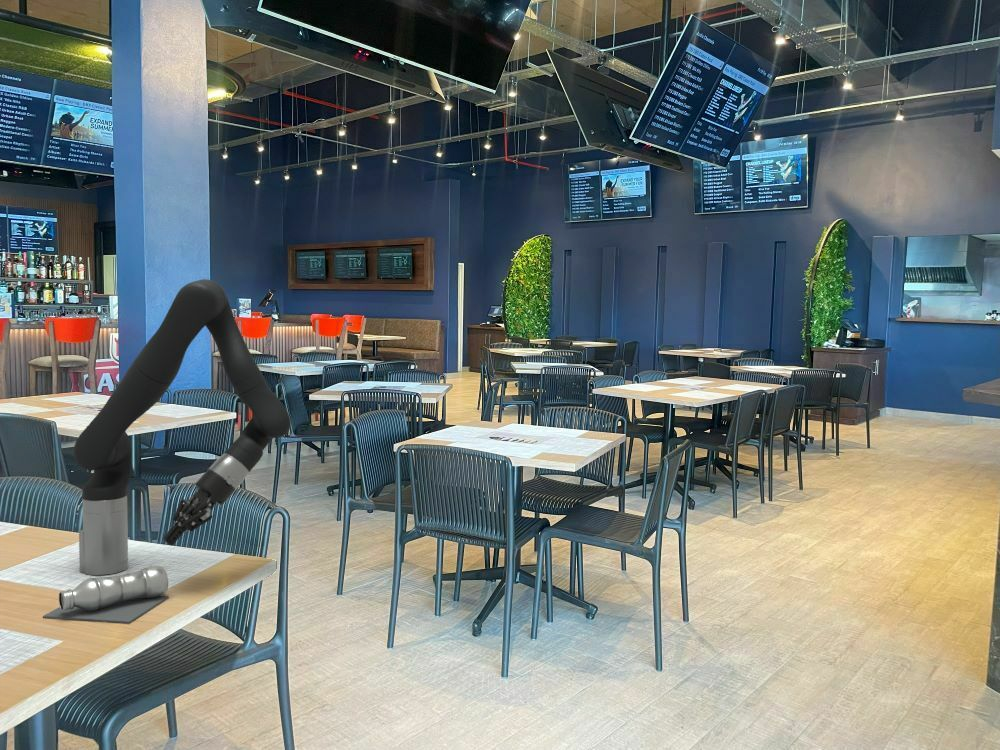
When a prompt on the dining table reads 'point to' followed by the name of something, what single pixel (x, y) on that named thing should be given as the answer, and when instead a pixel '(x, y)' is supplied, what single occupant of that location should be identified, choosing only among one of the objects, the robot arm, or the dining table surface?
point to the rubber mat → (110, 611)
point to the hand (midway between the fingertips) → (166, 542)
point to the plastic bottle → (115, 589)
